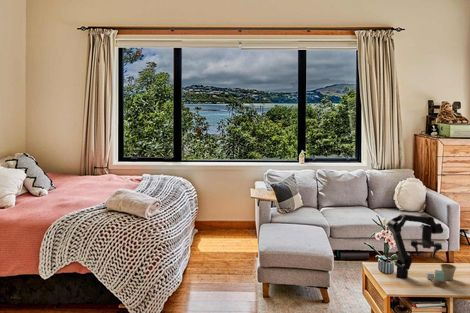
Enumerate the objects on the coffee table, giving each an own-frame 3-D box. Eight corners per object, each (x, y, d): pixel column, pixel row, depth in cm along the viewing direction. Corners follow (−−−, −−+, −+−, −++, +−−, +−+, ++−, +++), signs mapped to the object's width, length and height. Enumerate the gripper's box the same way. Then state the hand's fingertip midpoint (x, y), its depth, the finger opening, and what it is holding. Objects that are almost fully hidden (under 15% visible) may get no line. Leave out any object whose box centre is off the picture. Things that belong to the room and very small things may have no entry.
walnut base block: (433, 286, 270) (434, 281, 270) (431, 282, 277) (432, 276, 276) (446, 287, 268) (446, 282, 268) (443, 283, 275) (444, 278, 275)
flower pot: (456, 278, 283) (457, 265, 282) (454, 283, 275) (455, 269, 274) (440, 275, 288) (441, 262, 287) (438, 279, 280) (439, 266, 279)
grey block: (427, 279, 280) (427, 273, 280) (425, 277, 284) (425, 271, 284) (433, 280, 280) (434, 274, 279) (431, 277, 284) (431, 271, 283)
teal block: (434, 280, 271) (435, 272, 270) (434, 277, 276) (435, 269, 275) (443, 281, 269) (444, 273, 269) (443, 278, 274) (443, 271, 273)
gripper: (411, 235, 281) (410, 259, 283) (443, 239, 274) (441, 263, 276) (411, 231, 292) (410, 253, 293) (442, 234, 285) (440, 257, 287)
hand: (425, 257), depth 287 cm, fingers open, 9 cm apart
